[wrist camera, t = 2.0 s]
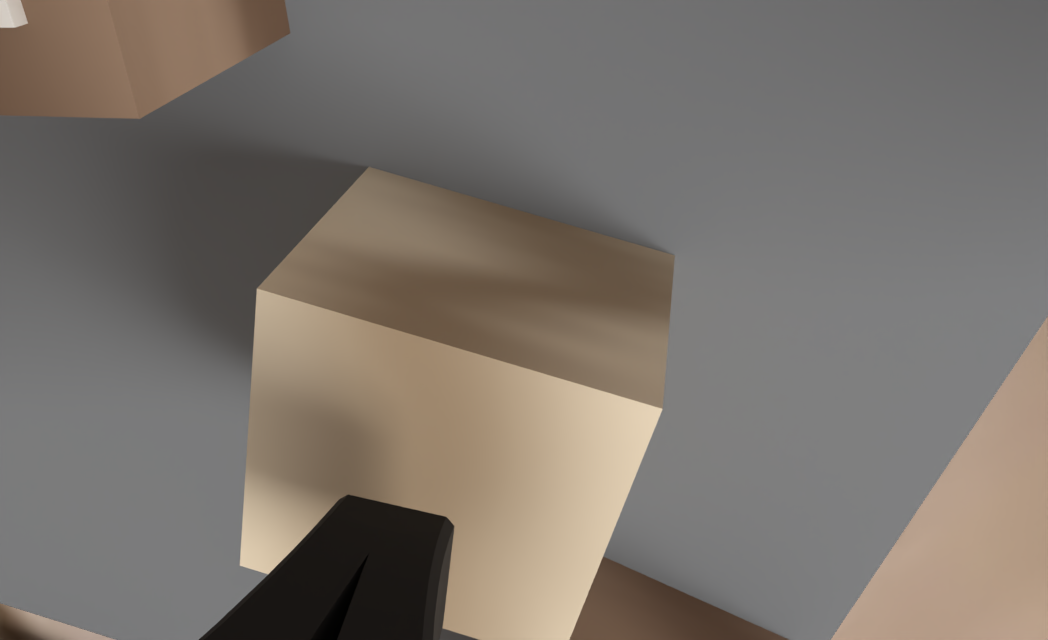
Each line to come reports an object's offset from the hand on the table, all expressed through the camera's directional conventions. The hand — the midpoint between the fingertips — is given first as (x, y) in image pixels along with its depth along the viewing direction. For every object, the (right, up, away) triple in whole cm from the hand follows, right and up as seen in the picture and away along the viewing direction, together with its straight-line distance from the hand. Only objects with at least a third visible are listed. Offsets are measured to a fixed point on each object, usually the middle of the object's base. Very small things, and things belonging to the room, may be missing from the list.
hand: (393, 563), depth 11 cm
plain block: (+1, +3, +4) cm, 5 cm away
